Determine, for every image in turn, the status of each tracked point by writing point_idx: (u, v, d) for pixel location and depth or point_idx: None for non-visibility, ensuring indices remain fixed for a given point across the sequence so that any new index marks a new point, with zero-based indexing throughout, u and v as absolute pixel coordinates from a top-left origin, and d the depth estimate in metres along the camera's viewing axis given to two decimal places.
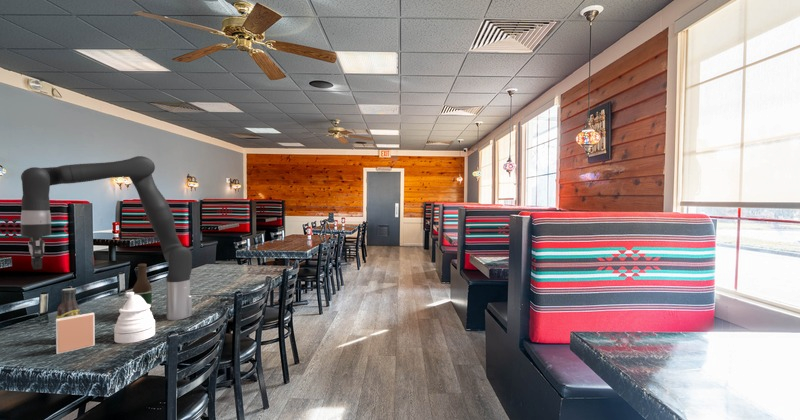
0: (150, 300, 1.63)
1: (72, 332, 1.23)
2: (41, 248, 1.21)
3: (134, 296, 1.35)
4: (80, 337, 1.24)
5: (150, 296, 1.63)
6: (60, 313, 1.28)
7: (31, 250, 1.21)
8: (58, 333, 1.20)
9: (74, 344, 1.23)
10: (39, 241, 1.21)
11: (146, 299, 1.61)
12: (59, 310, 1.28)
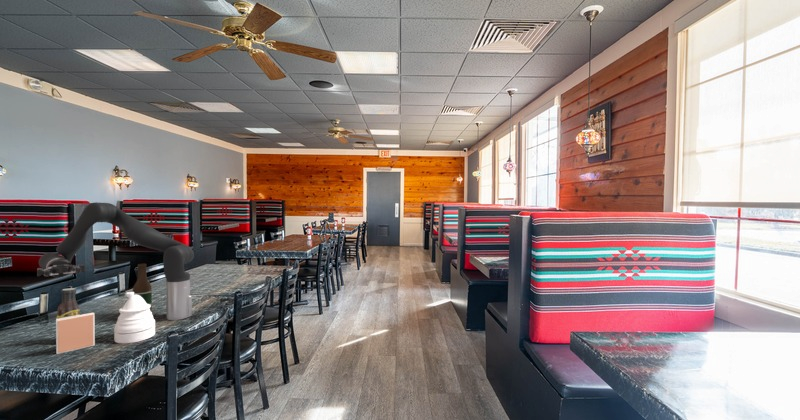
0: (150, 300, 1.63)
1: (72, 332, 1.23)
2: (37, 270, 1.38)
3: (134, 296, 1.35)
4: (80, 337, 1.24)
5: (150, 296, 1.63)
6: (61, 313, 1.28)
7: None
8: (58, 333, 1.20)
9: (74, 344, 1.23)
10: None
11: (146, 299, 1.61)
12: (59, 310, 1.28)
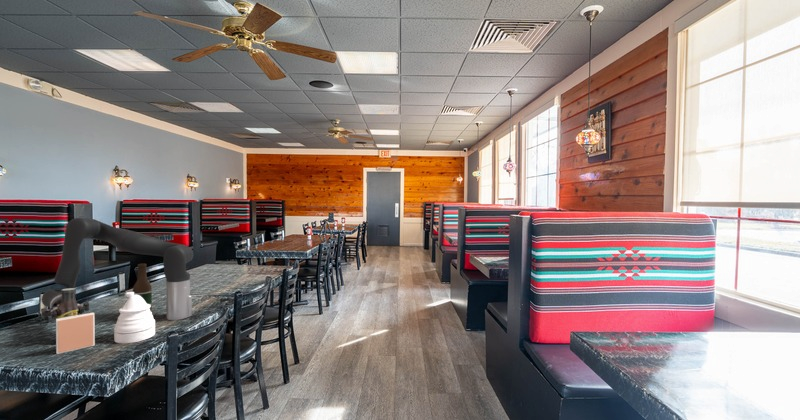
0: (150, 300, 1.63)
1: (72, 332, 1.23)
2: (41, 311, 1.29)
3: (134, 296, 1.35)
4: (80, 337, 1.24)
5: (150, 296, 1.63)
6: (60, 313, 1.28)
7: None
8: (58, 333, 1.20)
9: (74, 344, 1.23)
10: None
11: (146, 299, 1.61)
12: (59, 310, 1.28)
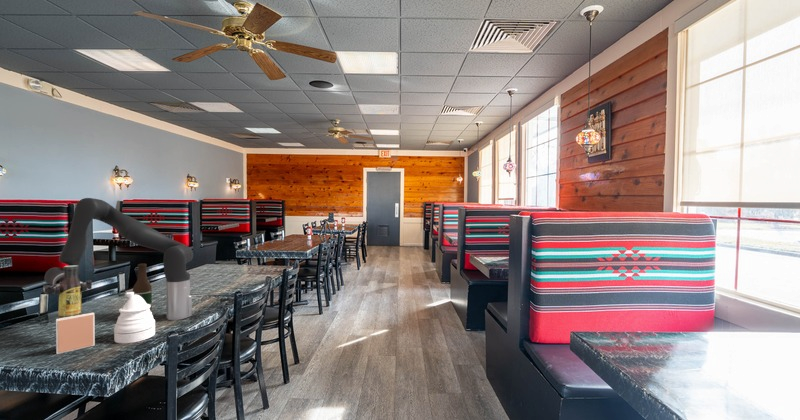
0: (150, 300, 1.63)
1: (72, 332, 1.23)
2: (45, 287, 1.28)
3: (134, 296, 1.35)
4: (80, 337, 1.24)
5: (150, 296, 1.63)
6: (63, 290, 1.27)
7: None
8: (58, 333, 1.20)
9: (74, 344, 1.23)
10: None
11: (146, 299, 1.61)
12: (61, 287, 1.27)
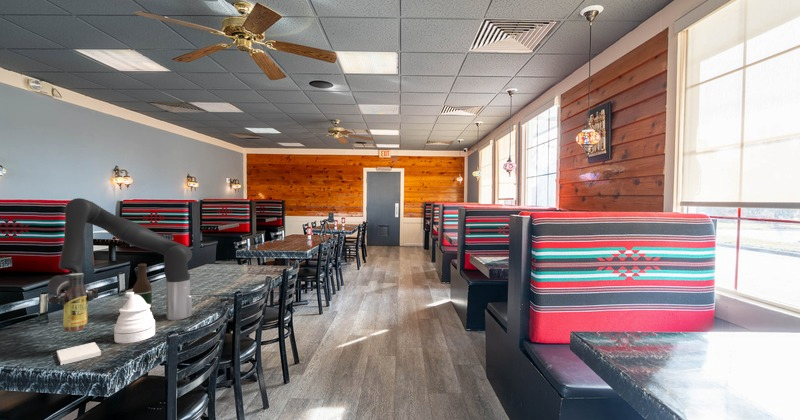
0: (150, 300, 1.63)
1: None
2: (48, 297, 1.21)
3: (134, 296, 1.35)
4: None
5: (150, 296, 1.63)
6: (68, 300, 1.20)
7: None
8: None
9: None
10: None
11: (146, 299, 1.61)
12: (66, 296, 1.20)
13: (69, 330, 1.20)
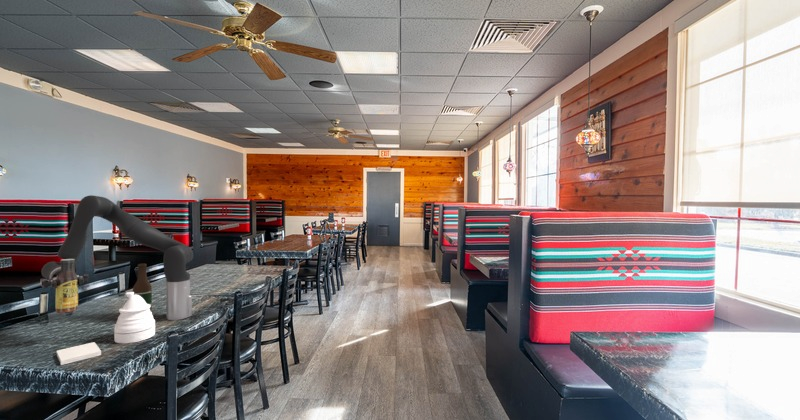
0: (150, 300, 1.63)
1: None
2: (41, 281, 1.29)
3: (134, 296, 1.35)
4: None
5: (150, 296, 1.63)
6: (59, 283, 1.28)
7: None
8: None
9: None
10: None
11: (146, 299, 1.61)
12: (58, 280, 1.28)
13: (61, 311, 1.28)
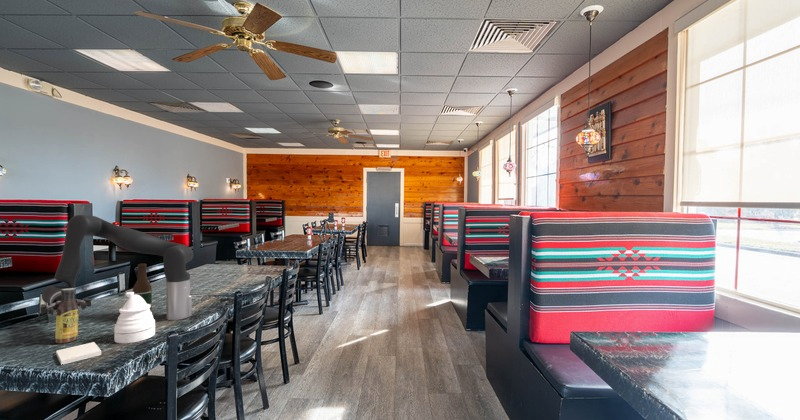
0: (150, 300, 1.63)
1: None
2: (40, 307, 1.29)
3: (134, 296, 1.35)
4: None
5: (150, 296, 1.63)
6: (60, 313, 1.28)
7: None
8: None
9: None
10: None
11: (146, 299, 1.61)
12: (58, 310, 1.28)
13: (60, 342, 1.28)
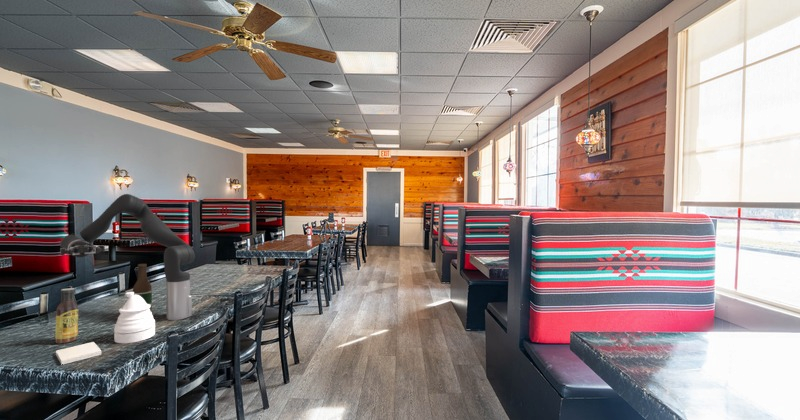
0: (150, 300, 1.63)
1: None
2: (60, 249, 1.46)
3: (134, 296, 1.35)
4: None
5: (150, 296, 1.63)
6: (60, 313, 1.28)
7: None
8: None
9: None
10: None
11: (146, 299, 1.61)
12: (58, 310, 1.28)
13: (60, 342, 1.28)
